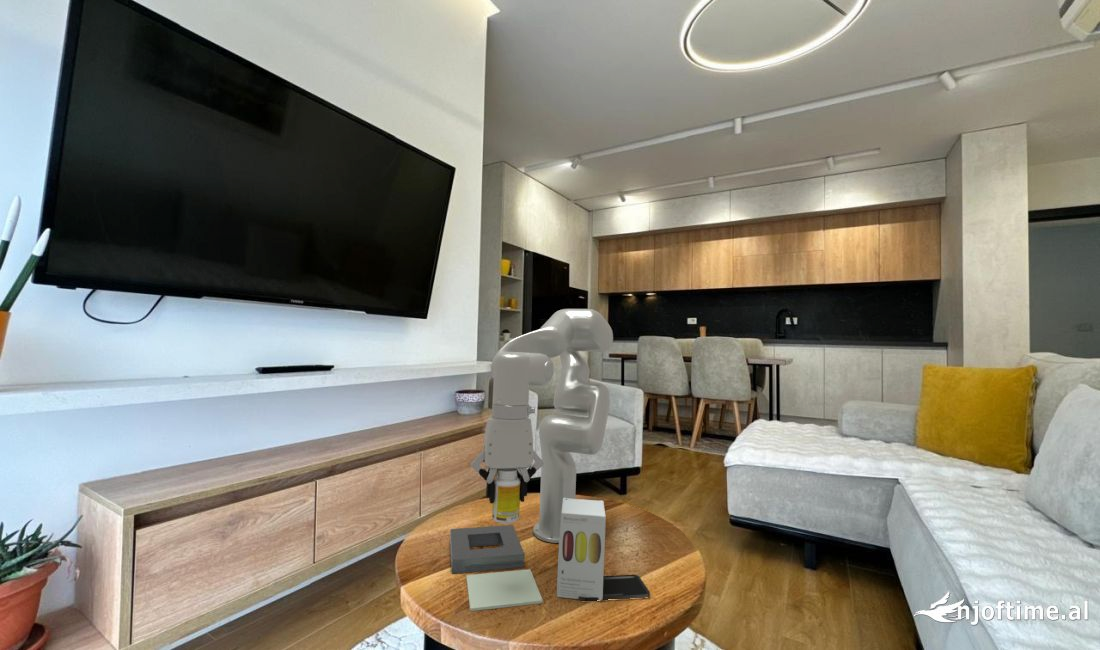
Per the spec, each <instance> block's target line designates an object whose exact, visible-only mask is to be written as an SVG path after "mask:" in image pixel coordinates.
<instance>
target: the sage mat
mask: <svg viewBox="0 0 1100 650" xmlns="http://www.w3.org/2000/svg"><path fill="white" fill-rule="evenodd" d="M465 579H466V585H467V587H466V588H467V593H468V594H467V596H468V604H469V611H470V612H475V611H484V610H493V609H501V608H502V609H503V608H504V609H505V608H511V607H518V606H520V607H521V606H527V605H528V606H529V605H538V604H543V601H544V600H543V597H542V595H541V592H540V590H539V588H538V585H537V582H536V580H535V578H534V574H533V573H532V571H531V568H529V569H518V570H509V571H508V570H507V571H499V572H498V571H496V572H487V573H476V574H466V577H465Z"/></svg>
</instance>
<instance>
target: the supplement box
mask: <svg viewBox="0 0 1100 650" xmlns="http://www.w3.org/2000/svg"><path fill="white" fill-rule="evenodd" d="M606 520H607V518H606V511H605V502H604V500H602V499H601V500H595V499H593V500H592V499H583V498H575V499H569V498H563V504H562V512H561V522H560V536H559V543H558V556H557V558H558V559H557V575H556V577H557V578H556V579H557V580H556V597H557V598H562V599H563V598H565V599H574V600H578V598H579V596H581V597H587V598H589V597H597V598H599V599H598V600H602V599H603V576H605V575H604V573H605V572H604V571H605V548H606V545H605V544H606V525H607V524H606V523H607V522H606Z"/></svg>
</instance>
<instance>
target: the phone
mask: <svg viewBox="0 0 1100 650" xmlns="http://www.w3.org/2000/svg"><path fill="white" fill-rule="evenodd" d="M650 595H651V592H650V591H649V589H648V587H647V586H646V584H645V583H644V581H643V579H642V578H641V576H639V575H637V574H617V575H603V599H602V600H608V599H630V598H645V597H649V596H650ZM649 598H650V597H649ZM578 599H579V600H580V602H581V601H597V600H598V599H599V598H597V597H589V598H587V597H581V596H579V598H578ZM578 599H577V600H578ZM579 600H578V601H579ZM597 602H598V601H597Z"/></svg>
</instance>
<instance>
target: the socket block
mask: <svg viewBox="0 0 1100 650" xmlns="http://www.w3.org/2000/svg"><path fill="white" fill-rule="evenodd" d="M449 533H450V534H449V535H450V536H449V548H450V567H451V574H452V575H456V574H457V575H458V574H468V573H477V572H488V571H498V570H499V571H500V570H510V569H512V570H513V569H521V568H522V569H523V568H525V551H524V549H523V545H522V544H521V542H520V539H519V537H518V534H517V532H516V529H515V527H514V525H513V524H507V525H506V524H505V525H492V526H491V525H490V526H478V527H463V528H450V532H449ZM486 546H487V548H478V549H475V547H486ZM488 546H499V547H488ZM473 547H474V549H470V548H473Z"/></svg>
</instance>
